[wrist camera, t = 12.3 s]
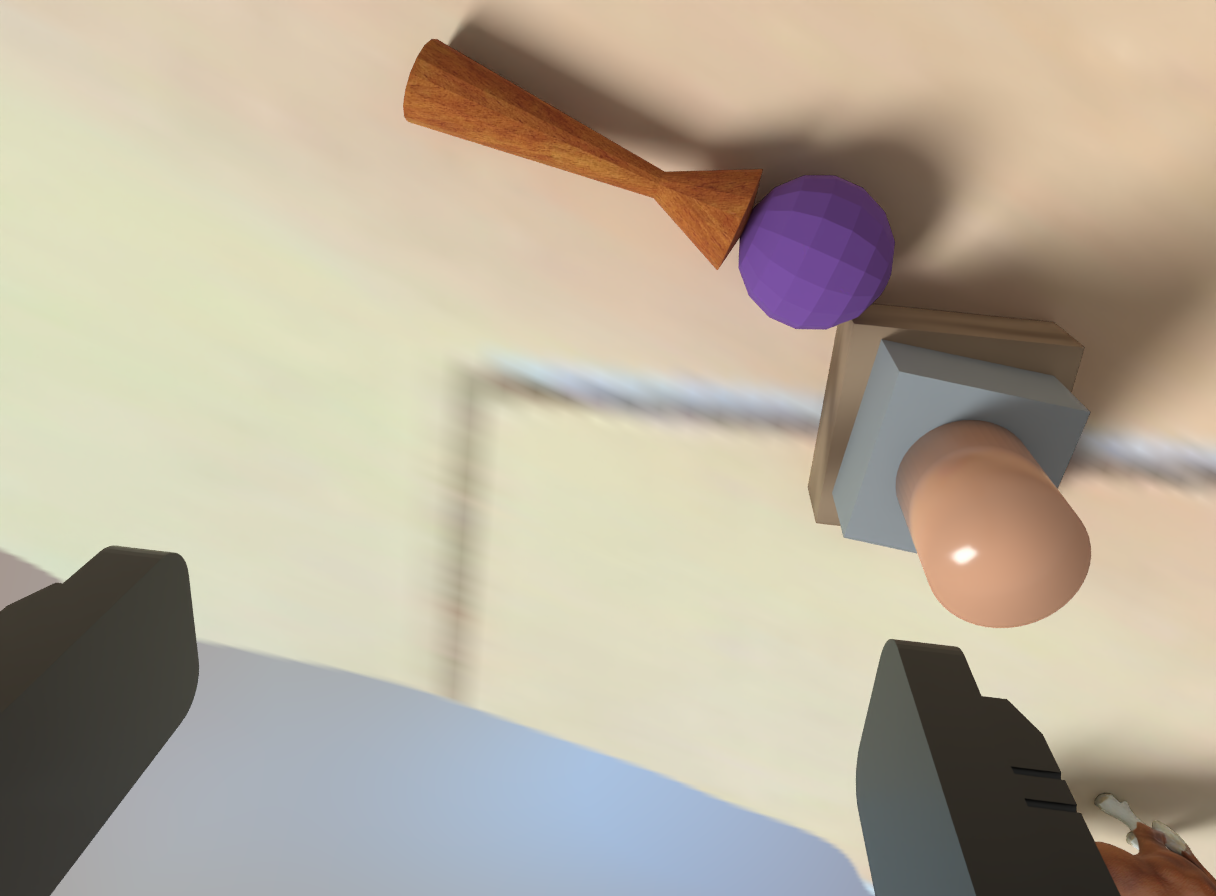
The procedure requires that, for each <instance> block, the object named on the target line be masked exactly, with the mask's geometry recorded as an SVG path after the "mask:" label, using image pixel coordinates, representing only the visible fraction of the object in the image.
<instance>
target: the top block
mask: <svg viewBox="0 0 1216 896" xmlns="http://www.w3.org/2000/svg"><path fill="white" fill-rule="evenodd" d="M1089 415H1090V411H1089V410H1088V409H1087V408H1086V407H1085V406H1084V405H1083V404H1082V403H1081V402H1080V401H1079V400H1078V399H1077V398H1076V397H1075V396H1074V395H1073V394H1072V393H1071V392H1070V391H1069V390H1068V389H1067V388H1066V387H1065V386H1064V385H1063V384H1062V383H1061V382H1060V381H1059V380H1058V379H1057V378H1056V377H1055V376H1052V375H1048V374H1043V373H1038V372H1034V371H1029V370H1024V369H1019V368H1015V367H1010V366H1005V365H1001V364H996V363H991V362H986V361H982V360H977V359H972V358H968V357H963V356H958V355H953V354H949V353H944V352H939V351H935V350H930V349H925V348H921V347H916V346H911V345H906V344H902V343H897V342H892V341H887V340H883V339H881V342H880V345H879V348H878V351H877V354H876V358H875V361H874V364H873V367H872V370H871V373H870V376H869V379H868V382H867V386H866V389H865V392H864V395H863V398H862V401H861V404H860V407H859V410H858V414H857V417H856V420H855V423H854V426H853V429H852V432H851V435H850V438H849V442H848V445H847V448H846V451H845V454H844V457H843V460H842V463H841V466H840V470H839V473H838V476H837V479H836V482H835V485H834V488H833V491H832V495H833V499H834V502H835V506H836V510H837V514H838V518H839V521H840V525H841V529H842V533H843V537H844V538H848V539H853V540H857V541H862V542H867V543H871V544H876V545H881V546H885V547H890V548H895V549H899V550H904V551H908V552H913V553H917V551H916V548H915V546H914V543H913V540H912V538H911V535H910V532H909V530H908V527H907V524H906V522H905V519H904V516H903V514H902V511H901V508H900V506H899V503H898V500H897V496H896V488H895V487H896V476H897V471H898V468H899V465H900V463H901V461H902V459H903V457H904V455H905V454H906V452H907V451H908V450H909V448H910V447H911V446H912V445H913V444H914V443H915V442H916V441H917V440H918V439H919V438H920V437H922V436H923V435H925V434H926V433H928V432H929V431H931V430H933V429H935V428H937V427H939V426H942V425H944V424H947V423H951V422H955V421H962V420H980V421H986V422H991V423H994V424H997V425H1000V426H1002V427H1004V428H1006V429H1007V430H1009V431H1010V432H1012V433H1013V434H1015V435H1016V436H1017V437H1018V438H1019V439H1020V440H1021V441H1022V443H1023V444H1024V445H1025V446H1026V448H1027V449H1028V450H1029V452H1030V453H1031V454H1032V456H1033V457H1034V458H1035V460H1036V461H1037V462H1038V464H1039V465H1040V466H1041V468H1042V469H1043V470H1044V472H1045V473H1046V474H1047V476H1048V477H1049V478H1050V480H1051V481H1052V482H1053V484H1054V485H1055V486H1056V488H1057V489H1058V486H1059V484H1060V482H1061V480H1062V477H1063V475H1064V473H1065V470H1066V468H1067V466H1068V463H1069V461H1070V459H1071V456H1072V454H1073V452H1074V449H1075V447H1076V445H1077V442H1078V440H1079V438H1080V435H1081V433H1082V431H1083V428H1084V426H1085V424H1086V422H1087V419H1088V417H1089Z"/></svg>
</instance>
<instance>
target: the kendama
mask: <svg viewBox="0 0 1216 896" xmlns="http://www.w3.org/2000/svg"><path fill="white" fill-rule="evenodd" d="M403 108H404V117H405V118H406V120H407V121H408V122H411V123H414V124H417V125H420V126H424V127H427V128H430V129H433V130H436V131H440V132H443V133H446V134H449V135H452V136H456V137H459V138H462V139H465V140H469V141H472V142H475V143H478V144H481V145H485V146H488V147H491V148H494V149H498V150H501V151H504V152H507V153H510V154H514V155H517V156H520V157H523V158H526V159H530V160H533V161H536V162H539V163H543V164H546V165H549V166H552V167H555V168H559V169H562V170H565V171H568V172H572V173H575V174H578V175H581V176H584V177H588V178H591V179H594V180H597V181H600V182H604V183H607V184H610V185H613V186H617V187H620V188H623V189H626V190H629V191H633V192H636V193H639V194H642V195H645V196H649V197H652V198H654V199H655V200H656V201H657V202H658V204H659V205H660V206H661V207H662V208H663V209H664V210H665V211H666V213H667V214H668V215H669V216H670V217H671V218H672V219H673V221H674V222H675V223H676V224H677V225H678V226H679V227H680V229H681V230H682V231H683V232H684V233H685V234H686V235H687V236H688V238H689V239H690V240H691V241H692V242H693V243H694V244H695V246H696V247H697V248H698V249H699V250H700V251H701V252H702V253H703V255H704V256H705V257H706V258H707V259H708V260H709V261H710V263H711V264H712V265H713V266H714V267H715V268H716V269H717V270H718V269H719V267H720V266H721V264H722V263H723V261H724V260H725V258H726V257H727V255H728V254H729V253H730V251H731V250H732V248H733V247H734V245H735V244H736V242H737V241H738V239H739V238H740V245H739V270H740V273H741V276H742V278H743V281H744V284H745V286H746V289H747V292H748V295H749V296H750V297H751V298H752V299H753V300H754V302H755V303H756V304H757V305H758V306H759V307H760V308H761V309H762V310H763V311H764V312H765V313H766V314H767V315H768V316H769V317H770V318H772V319H775V320H777V321H779V322H782V323H784V324H786V325H788V326H791V327H793V328H795V329H828V328H831V327H834V326H836V325H839V324H841V323H844V322H847V321H849V320H852V319H855V318H857V317H859V316H860V315H861V314H862V313H863V312H864V311H865V310H866V309H867V308H868V307H869V306H870V305H871V304H872V303H873V302H874V301H875V300H876V299H877V298H878V297H879V296H880V295H881V294H882V292H883V291H884V289H885V287H886V285H887V283H888V281H889V279H890V276H891V271H892V263H893V254H894V246H895V241H894V238H893V235H892V231H891V228H890V225H889V222H888V219H887V216H886V213H885V212H884V210H883V209H882V208H881V207H880V206H879V205H878V204H877V203H876V202H875V201H874V199H873V198H872V197H871V196H870V195H869V194H868V193H867V192H866V191H865V190H864V189H863V188H862V187H860V186H858V185H855V184H853V183H851V182H849V181H846V180H844V179H842V178H839V177H837V176H831V175H804V176H801V177H799V178H796V179H794V180H791V181H789V182H786V183H784V184H782V185H779V186H777V187H775V188H774V189H773V190H772V191H771V192H770V193H769V194H767V195H766V196H765V197H764V198H763V199H762V200H761V201H760V202H759V203H758V204H757V205H756V206H755V207H754V208H753V205H754V202H755V198H756V194H757V190H758V186H759V182H760V178H761V175H762V170H763V169H751V170H714V171H677V172H664V171H662V170H661V169H659V168H657V167H656V166H654V165H652V164H650V163H649V162H647V161H645V160H644V159H642V158H640V157H638V156H637V155H635V154H633V153H632V152H630V151H628V150H626V149H625V148H623V147H621V146H620V145H618V144H616V143H614V142H613V141H611V140H609V139H608V138H606V137H604V136H602V135H601V134H599V133H597V132H595V131H594V130H592V129H590V128H589V127H587V126H585V125H583V124H582V123H580V122H578V121H577V120H575V119H573V118H571V117H570V116H568V115H566V114H565V113H563V112H561V111H559V110H558V109H556V108H554V107H553V106H551V105H549V104H547V103H546V102H544V101H542V100H541V99H539V98H537V97H535V96H534V95H532V94H530V93H529V92H527V91H525V90H523V89H522V88H520V87H518V86H517V85H515V84H513V83H511V82H510V81H508V80H506V79H504V78H503V77H501V76H499V75H498V74H496V73H494V72H492V71H491V70H489V69H487V68H486V67H484V66H482V65H480V64H479V63H477V62H475V61H474V60H472V59H470V58H468V57H467V56H465V55H463V54H462V53H460V52H458V51H456V50H455V49H453V48H451V47H450V46H448V45H446V44H444V43H443V42H441V41H439V40H438V39H431V40H430V41H429V42H428V43H427V44H426V45H424V47H423V49H422V50H421V52H420V53H419V55H418V56H417V58H416V61H415V63H414V65H413V68H412V70H411V72H410V75H409V79H408V82H407V86H406V89H405V96H404V103H403Z"/></svg>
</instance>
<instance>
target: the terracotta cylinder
mask: <svg viewBox="0 0 1216 896" xmlns="http://www.w3.org/2000/svg"><path fill="white" fill-rule="evenodd" d="M895 488H896V496H897V500H898V503H899V506H900V508H901V511H902V514H903V516H904V519H905V522H906V524H907V527H908V530H909V532H910V535H911V538H912V540H913V543H914V546H915V548H916V551H917V553H918V556H919V559H920V561H921V564H922V567H923V569H924V572H925V575H926V577H927V580H928V583H929V585H930V587H931V590H932V592H933V593H934V595H935V597H936V598H937V600H938V601H939V602H940V603H941V604H942V605H943V606H944V607H945V608H946V609H947V610H948V611H949V612H951V613H952V614H954V615H955V616H957V617H958V618H960V619H963V620H965V621H967V622H970V623H973V624H975V625H980V626H984V627H992V628H1010V627H1018V626H1023V625H1027V624H1030V623H1033V622H1036V621H1039V620H1041V619H1043V618H1046V617H1048V616H1049V615H1051V614H1053V613H1054V612H1056V611H1057V610H1059V609H1060V608H1061V607H1063V606H1064V605H1065V604H1066V603H1067V602H1068V601H1069V600H1070V599H1072V597H1073V596H1074V595H1075V594H1076V593H1077V591H1078V590H1079V588H1080V587H1081V585H1082V584H1083V582H1084V580H1085V578H1086V575H1087V573H1088V569H1089V566H1090V560H1091V545H1090V540H1089V536H1088V533H1087V531H1086V528H1085V527H1084V525H1083V523H1082V521H1081V520H1080V518H1079V517H1078V516H1077V514H1076V513H1075V512H1074V510H1073V509H1072V508H1071V506H1070V505H1069V504H1068V502H1067V501H1066V500H1065V498H1064V497H1063V496H1062V494H1061V493H1060V492H1059V490H1058V489H1057V488H1056V486H1055V485H1054V484H1053V482H1052V481H1051V480H1050V478H1049V477H1048V476H1047V474H1046V473H1045V472H1044V470H1043V469H1042V468H1041V466H1040V465H1039V464H1038V462H1037V461H1036V460H1035V458H1034V457H1033V456H1032V454H1031V453H1030V452H1029V450H1028V449H1027V448H1026V446H1025V445H1024V444H1023V443H1022V441H1021V440H1020V439H1019V438H1018V437H1017V436H1016V435H1015V434H1013V433H1012V432H1010V431H1009V430H1007V429H1006V428H1004V427H1002V426H1000V425H997V424H994V423H991V422H986V421H980V420H962V421H955V422H951V423H947V424H944V425H942V426H939V427H937V428H935V429H933V430H931V431H929V432H928V433H926V434H925V435H923V436H922V437H920V438H919V439H918V440H917V441H916V442H915V443H914V444H913V445H912V446H911V447H910V448H909V450H908V451H907V452H906V454H905V455H904V457H903V459H902V461H901V463H900V465H899V468H898V471H897V476H896V487H895Z"/></svg>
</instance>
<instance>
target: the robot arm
mask: <svg viewBox="0 0 1216 896" xmlns="http://www.w3.org/2000/svg"><path fill="white" fill-rule="evenodd" d="M198 676H199V661H198V652H197V643H196V634H195V625H194V617H193V608H192V599H191V591H190V582H189V574H188V568H187V565H186V562H185V561H184V559H183V558H182V556H181V555H179V554H178V553H172V552H164V551H155V550H147V549H138V548H130V547H121V546H109V547H107V548H105V549H103V550H102V551H100V552H99V553H98V554H97V555H96V556H94V557H93V558H92V559H91V560H90V561H89V562H87V563H86V564H85V565H84V566H83V567H82V568H80V569H79V570H78V571H77V572H76V573H75V574H73V575H72V576H71V577H70V578H69V579H68V580H66V581H65V582H64V583H63V584H62V583H55V584H52V585H50V586H48V587H46V588H44V589H41V590H39V591H37V592H35V593H33V594H31V595H29V596H27V597H25V598H23V599H21V600H18V601H16V602H14V603H12V604H10V605H8V606H6V607H5V608H4V609H3V610H2V611H0V896H50V895H51V893H52V892H53V891H54V890H55V888H56V887H57V885H58V884H59V883H60V882H61V880H62V879H63V878H64V876H65V875H66V874H67V872H68V871H69V870H70V868H71V867H72V866H73V864H74V863H75V862H76V861H77V859H78V858H79V857H80V855H81V854H82V853H83V851H84V850H85V849H86V847H87V846H88V845H89V843H90V842H91V841H92V839H93V838H94V837H95V835H96V834H97V833H98V832H99V830H100V829H101V827H102V826H103V825H104V824H105V822H106V821H107V820H108V818H109V817H110V816H111V814H112V813H113V812H114V810H115V809H116V808H117V806H118V805H119V804H120V803H121V801H122V800H123V799H124V797H125V796H126V795H127V793H128V792H129V791H130V789H131V788H132V787H133V785H134V784H135V783H136V781H137V780H138V779H139V777H140V776H141V775H142V773H143V772H144V771H145V769H146V768H147V767H148V766H149V764H150V763H151V762H152V760H153V759H154V758H155V756H156V755H157V754H158V752H159V751H160V750H161V749H162V747H163V746H164V745H165V743H166V742H167V741H168V739H169V738H170V737H171V735H172V734H173V733H174V731H175V730H176V729H177V727H178V726H179V725H180V723H181V722H182V721H183V719H184V718H185V716H186V715H187V713H188V711H189V709H190V706H191V704H192V701H193V699H194V696H195V692H196V688H197V683H198ZM856 797H857V805H858V811H859V816H860V821H861V826H862V831H863V836H864V841H865V846H866V851H867V856H868V861H869V866H870V871H871V876H872V881H873V886H874V891H875V896H1121V895H1120V893H1119V891H1118V889H1117V887H1116V885H1115V883H1114V880H1113V878H1112V876H1111V874H1110V872H1109V870H1108V868H1107V866H1106V864H1105V862H1104V860H1103V858H1102V856H1101V854H1100V852H1099V850H1098V847H1097V845H1096V843H1095V841H1094V839H1093V837H1092V835H1091V833H1090V831H1089V829H1088V827H1087V825H1086V823H1085V821H1084V819H1083V817H1082V814H1081V813H1077V811H1076V806H1077V804H1076V802H1075V800H1074V798H1073V796H1072V794H1071V792H1070V790H1069V788H1068V786H1067V784H1066V781H1065V780H1061V771H1060V769H1059V767H1058V765H1057V763H1056V761H1055V759H1054V757H1053V755H1052V753H1051V751H1050V748H1049V746H1048V744H1047V742H1046V740H1045V738H1044V736H1043V734H1042V733H1041V732H1040V731H1039V730H1038V729H1037V728H1036V727H1035V726H1034V725H1033V724H1032V723H1031V722H1030V721H1029V720H1028V719H1027V718H1026V717H1025V716H1024V715H1023V714H1022V713H1020V712H1019V711H1018V710H1017V709H1016V708H1015V707H1014V706H1013V705H1012V704H1011V703H1010V702H1009V701H1008V700H1007V699H1000V698H992V697H983V696H981V694H980V692H979V689H978V687H977V684H976V682H975V680H974V677H973V675H972V673H971V670H970V668H969V665H968V663H967V661H966V658H965V656H964V654H963V652H962V651H961V649H960V648H958V647H954V646H945V645H937V644H928V643H920V642H911V641H903V640H894V639H889V640H888V641H887V642H886V643H885V645H884V647H883V650H882V653H881V657H880V661H879V665H878V669H877V674H876V678H875V682H874V686H873V691H872V695H871V699H870V703H869V708H868V712H867V716H866V720H865V725H864V729H863V733H862V738H861V742H860V746H859V751H858V758H857V768H856Z"/></svg>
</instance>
